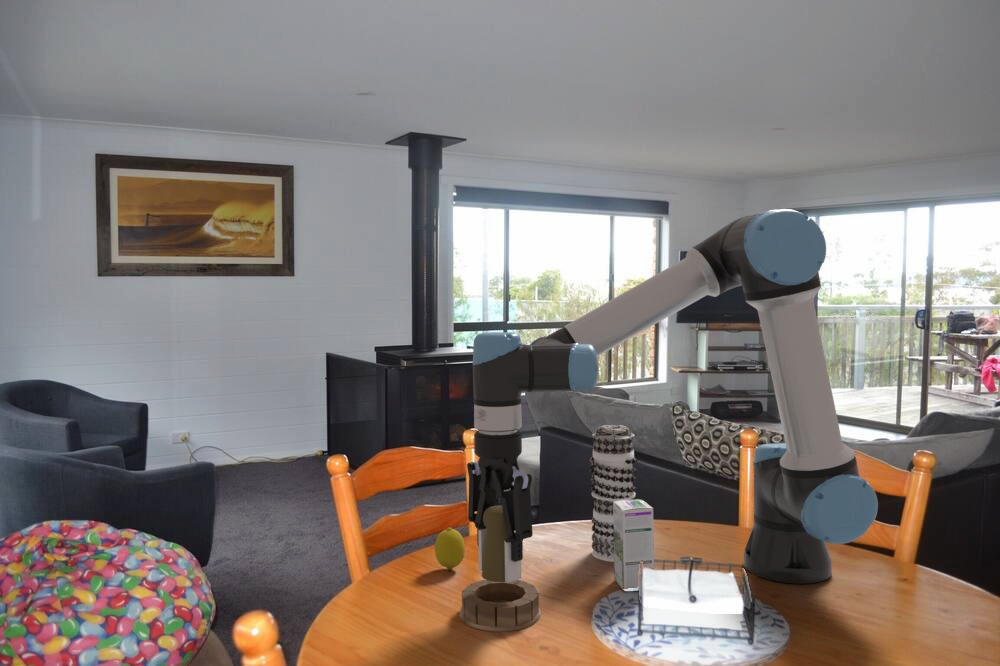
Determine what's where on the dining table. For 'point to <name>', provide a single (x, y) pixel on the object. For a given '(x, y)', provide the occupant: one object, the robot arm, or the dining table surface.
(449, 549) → the lemon
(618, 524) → the syrup box
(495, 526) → the olive green knobbed peg
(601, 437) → the decorative candle
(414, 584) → the dining table surface
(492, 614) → the collar
